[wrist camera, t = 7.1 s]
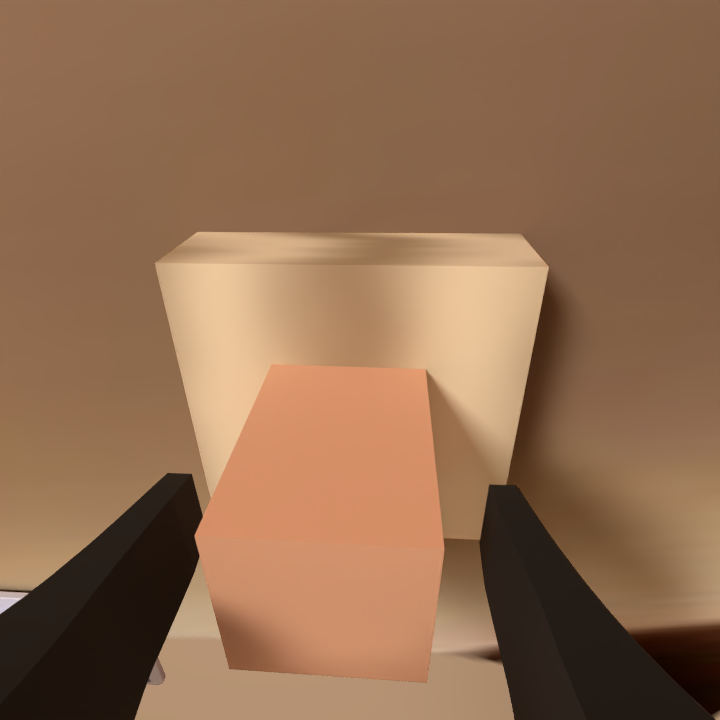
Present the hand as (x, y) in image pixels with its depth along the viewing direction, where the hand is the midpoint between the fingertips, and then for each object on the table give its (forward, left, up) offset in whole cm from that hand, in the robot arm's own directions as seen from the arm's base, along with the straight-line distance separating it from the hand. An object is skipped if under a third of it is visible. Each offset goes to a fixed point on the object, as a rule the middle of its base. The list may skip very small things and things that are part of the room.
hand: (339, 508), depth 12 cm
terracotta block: (0, 0, -3) cm, 3 cm away
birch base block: (0, 0, -7) cm, 7 cm away
